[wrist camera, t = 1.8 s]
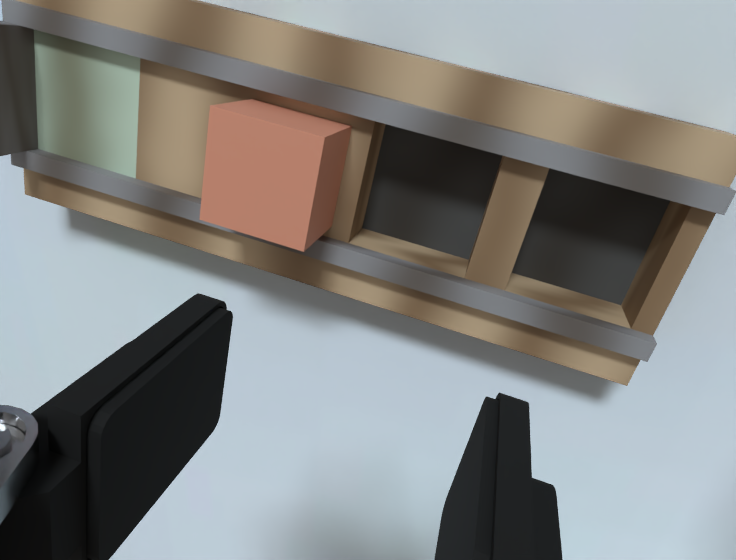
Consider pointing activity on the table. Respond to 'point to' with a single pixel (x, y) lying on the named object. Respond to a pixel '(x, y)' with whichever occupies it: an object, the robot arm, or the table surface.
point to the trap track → (376, 170)
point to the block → (272, 171)
